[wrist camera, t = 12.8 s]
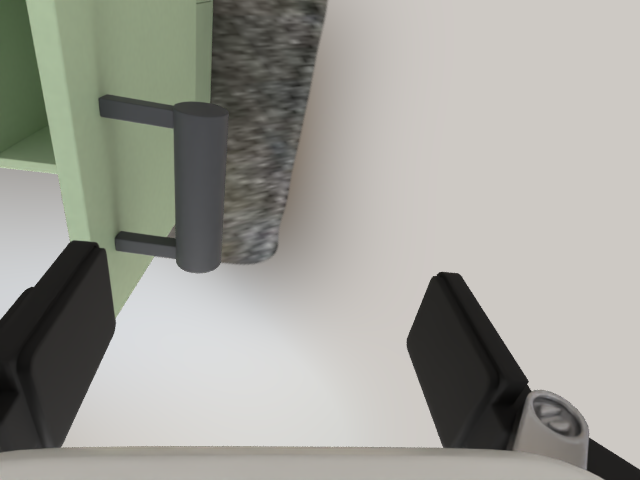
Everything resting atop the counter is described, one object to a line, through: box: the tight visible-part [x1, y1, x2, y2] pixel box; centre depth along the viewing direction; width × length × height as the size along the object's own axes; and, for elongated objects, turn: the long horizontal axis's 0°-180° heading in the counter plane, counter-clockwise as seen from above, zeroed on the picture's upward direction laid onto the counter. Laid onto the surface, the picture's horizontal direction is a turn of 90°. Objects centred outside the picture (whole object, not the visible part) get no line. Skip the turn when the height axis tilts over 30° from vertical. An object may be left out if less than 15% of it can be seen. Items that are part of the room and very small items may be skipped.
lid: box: [26, 0, 229, 318], centre depth 21 cm, size 15×14×5 cm
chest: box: [0, 0, 213, 174], centre depth 31 cm, size 15×14×10 cm
